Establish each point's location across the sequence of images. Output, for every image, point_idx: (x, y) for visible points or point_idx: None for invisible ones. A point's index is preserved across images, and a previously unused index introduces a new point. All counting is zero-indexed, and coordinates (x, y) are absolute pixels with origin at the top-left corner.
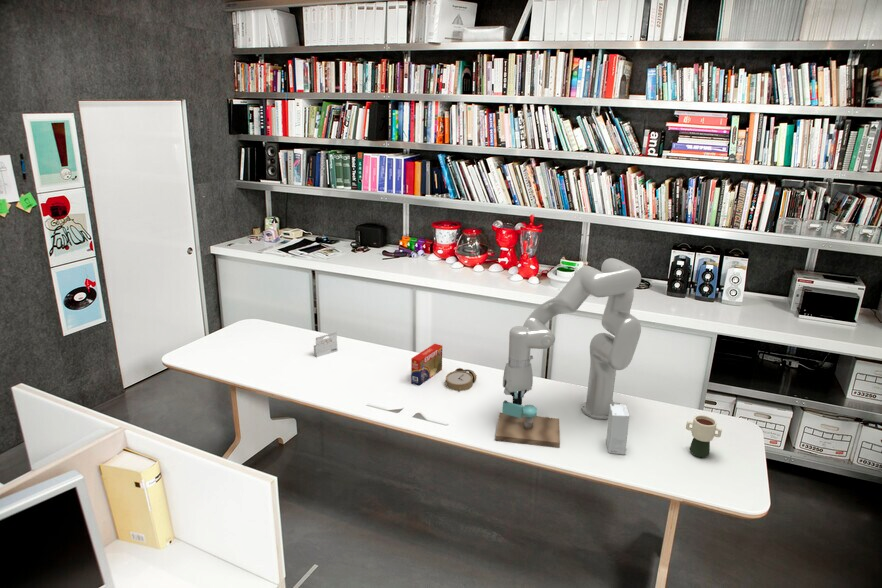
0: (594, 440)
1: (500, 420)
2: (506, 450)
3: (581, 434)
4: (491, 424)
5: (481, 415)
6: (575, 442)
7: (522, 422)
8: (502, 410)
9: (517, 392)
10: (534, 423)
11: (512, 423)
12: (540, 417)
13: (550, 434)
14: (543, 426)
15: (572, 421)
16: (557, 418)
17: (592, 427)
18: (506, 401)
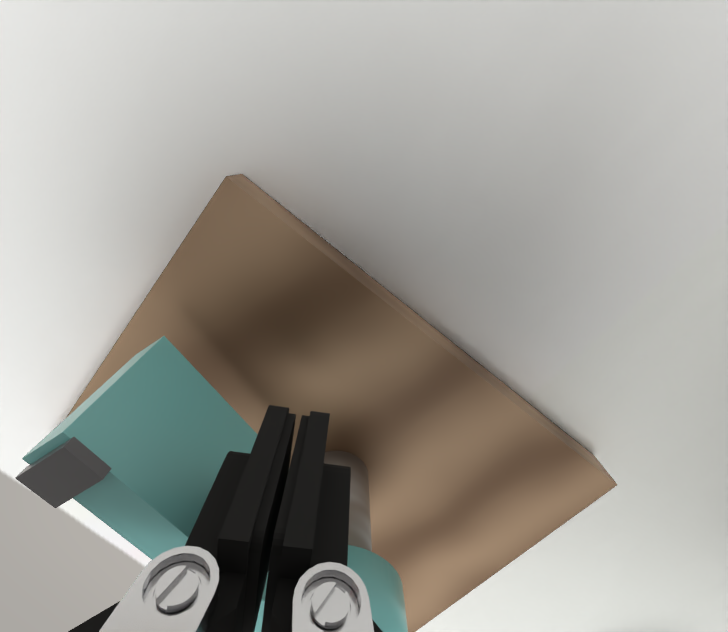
0: (598, 624)
1: (162, 313)
2: (96, 531)
3: (594, 574)
4: (114, 248)
5: (72, 43)
6: (503, 605)
7: (332, 416)
8: (115, 373)
9: (292, 616)
10: (408, 462)
11: (244, 395)
12: (513, 420)
13: (409, 583)
14: (438, 511)
15: (684, 472)
16: (608, 478)
17: (709, 554)
18: (77, 489)
